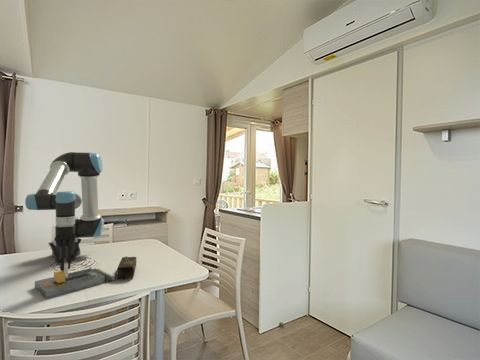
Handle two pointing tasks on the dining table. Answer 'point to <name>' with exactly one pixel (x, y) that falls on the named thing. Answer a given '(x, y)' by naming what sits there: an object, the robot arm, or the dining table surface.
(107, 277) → the grey rounded bar
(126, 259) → the beverage carton
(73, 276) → the breaker panel
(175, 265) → the dining table surface
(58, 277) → the toggle
